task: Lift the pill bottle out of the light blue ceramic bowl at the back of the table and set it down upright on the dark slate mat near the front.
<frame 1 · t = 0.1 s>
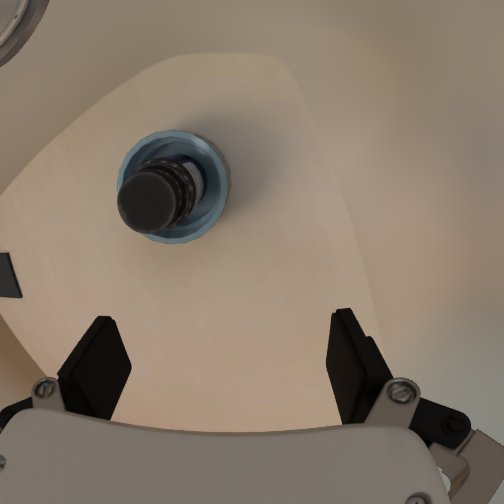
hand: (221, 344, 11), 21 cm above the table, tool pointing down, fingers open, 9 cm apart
pill bottle: (180, 181, 30), resting on bowl
bowl: (181, 181, 30), on the table
mat: (2, 275, 34), on the table
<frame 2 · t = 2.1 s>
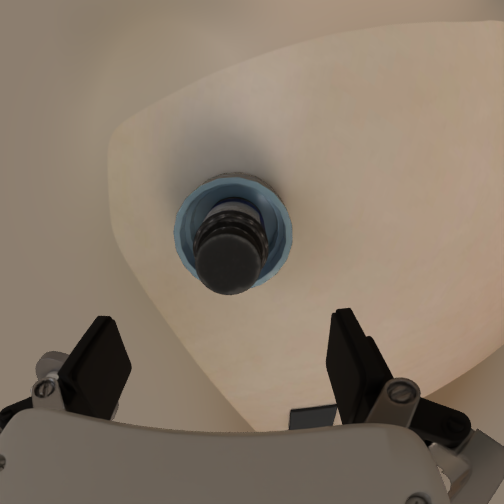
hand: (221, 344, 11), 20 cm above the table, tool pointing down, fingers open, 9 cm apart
pill bottle: (234, 223, 30), resting on bowl
bowl: (235, 222, 30), on the table
mat: (312, 420, 43), on the table
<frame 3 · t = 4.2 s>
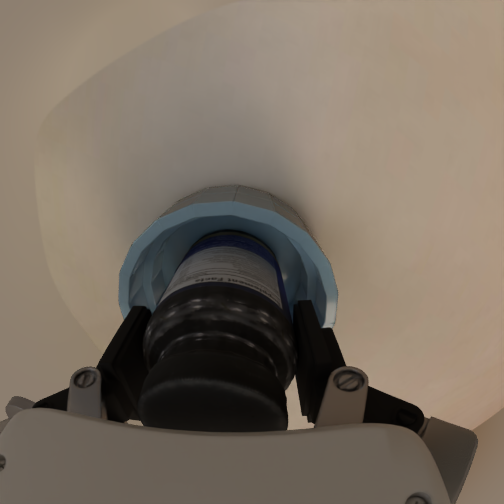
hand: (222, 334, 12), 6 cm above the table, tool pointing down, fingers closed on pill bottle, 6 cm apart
pill bottle: (230, 272, 18), resting on bowl, touching gripper
bowl: (231, 271, 18), on the table
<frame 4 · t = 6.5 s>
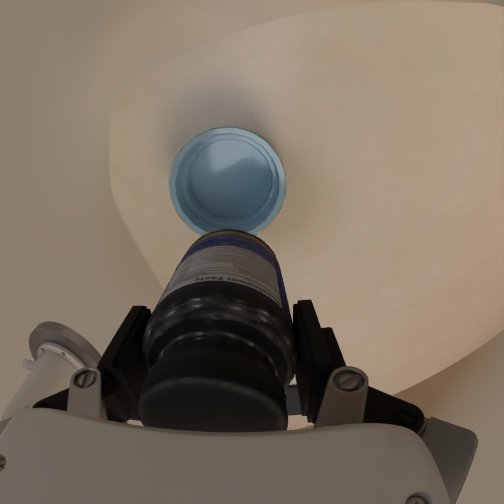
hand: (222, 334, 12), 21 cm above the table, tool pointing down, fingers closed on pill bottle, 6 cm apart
pill bottle: (230, 272, 18), point 15 cm above the table, touching gripper
bowl: (230, 179, 30), on the table
mat: (308, 398, 43), on the table
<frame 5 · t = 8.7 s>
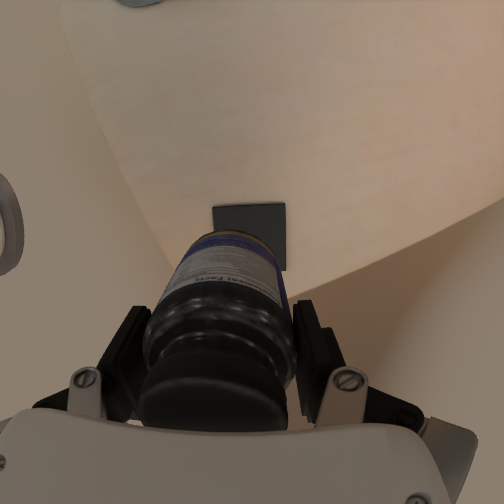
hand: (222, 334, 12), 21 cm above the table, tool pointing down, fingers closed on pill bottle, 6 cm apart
pill bottle: (230, 272, 18), point 15 cm above the table, touching gripper
mat: (250, 238, 33), on the table
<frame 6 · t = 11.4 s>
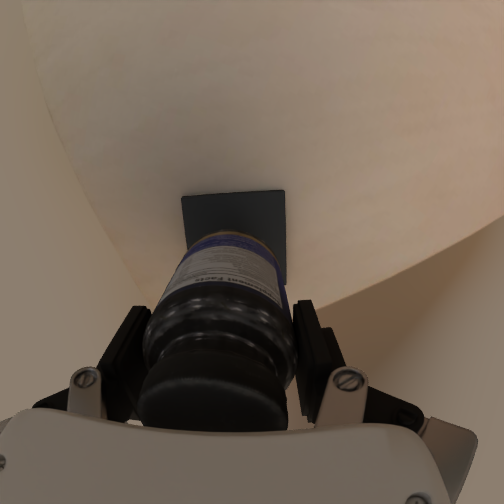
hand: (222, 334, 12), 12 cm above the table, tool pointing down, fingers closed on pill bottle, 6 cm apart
pill bottle: (230, 272, 18), point 6 cm above the table, touching gripper
mat: (236, 240, 23), on the table
when the fingers open (7 cm above the table, at t = 13.5 s): pill bottle stays where it is, resting on mat.
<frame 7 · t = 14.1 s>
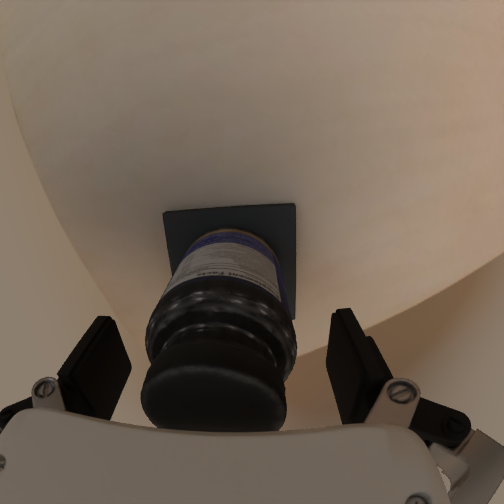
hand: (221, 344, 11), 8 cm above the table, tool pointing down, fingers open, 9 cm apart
pill bottle: (231, 269, 18), resting on mat
mat: (233, 267, 19), on the table
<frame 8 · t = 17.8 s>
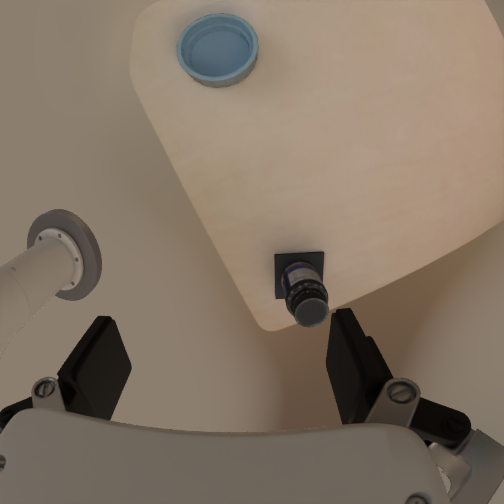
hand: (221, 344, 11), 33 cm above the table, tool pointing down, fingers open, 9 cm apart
pill bottle: (298, 276, 47), resting on mat
bowl: (220, 55, 34), on the table
mat: (299, 275, 47), on the table
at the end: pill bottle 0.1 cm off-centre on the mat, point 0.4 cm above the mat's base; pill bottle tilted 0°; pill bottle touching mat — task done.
